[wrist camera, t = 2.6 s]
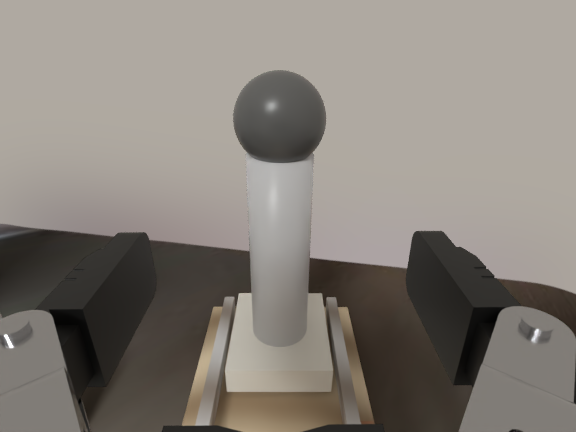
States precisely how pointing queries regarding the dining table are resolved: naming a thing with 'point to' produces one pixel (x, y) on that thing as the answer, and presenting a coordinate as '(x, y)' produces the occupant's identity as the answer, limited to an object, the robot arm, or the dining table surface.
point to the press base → (278, 405)
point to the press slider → (279, 241)
